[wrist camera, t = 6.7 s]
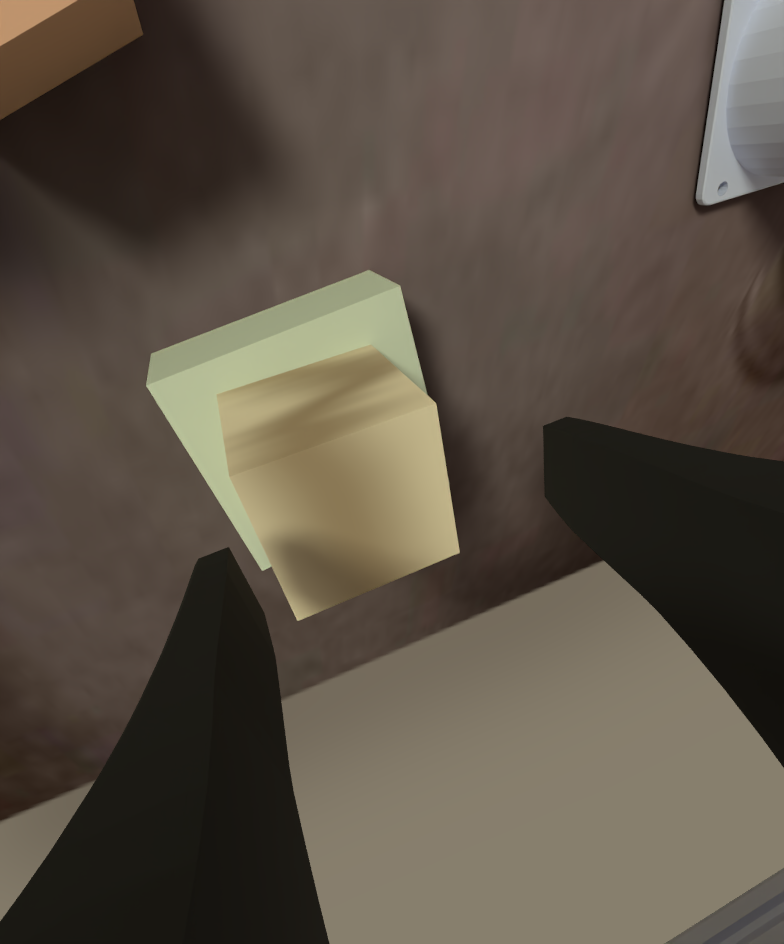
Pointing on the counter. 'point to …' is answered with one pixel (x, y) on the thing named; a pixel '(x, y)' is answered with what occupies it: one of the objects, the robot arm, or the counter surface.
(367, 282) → the sage block
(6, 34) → the terracotta block
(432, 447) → the beech cube
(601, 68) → the counter surface
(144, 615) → the counter surface
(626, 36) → the counter surface
